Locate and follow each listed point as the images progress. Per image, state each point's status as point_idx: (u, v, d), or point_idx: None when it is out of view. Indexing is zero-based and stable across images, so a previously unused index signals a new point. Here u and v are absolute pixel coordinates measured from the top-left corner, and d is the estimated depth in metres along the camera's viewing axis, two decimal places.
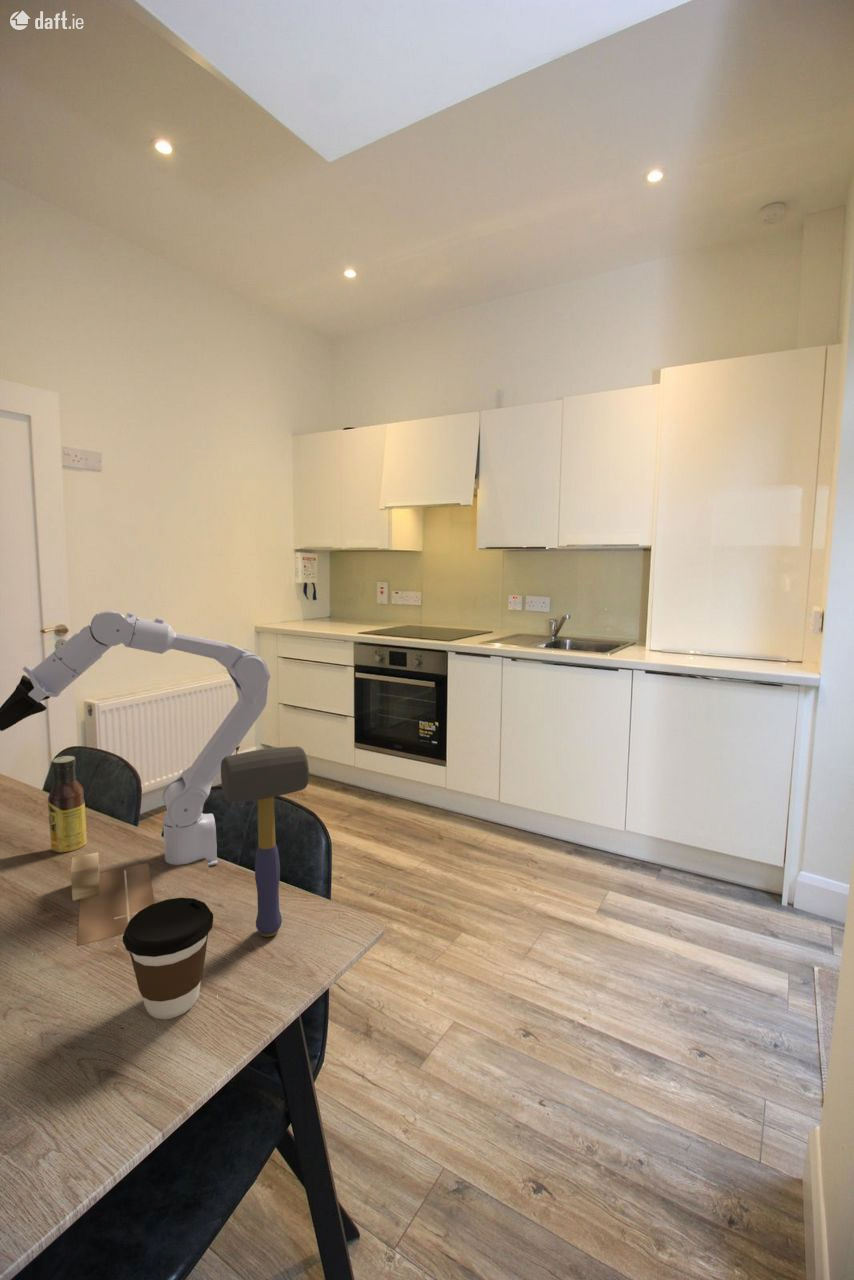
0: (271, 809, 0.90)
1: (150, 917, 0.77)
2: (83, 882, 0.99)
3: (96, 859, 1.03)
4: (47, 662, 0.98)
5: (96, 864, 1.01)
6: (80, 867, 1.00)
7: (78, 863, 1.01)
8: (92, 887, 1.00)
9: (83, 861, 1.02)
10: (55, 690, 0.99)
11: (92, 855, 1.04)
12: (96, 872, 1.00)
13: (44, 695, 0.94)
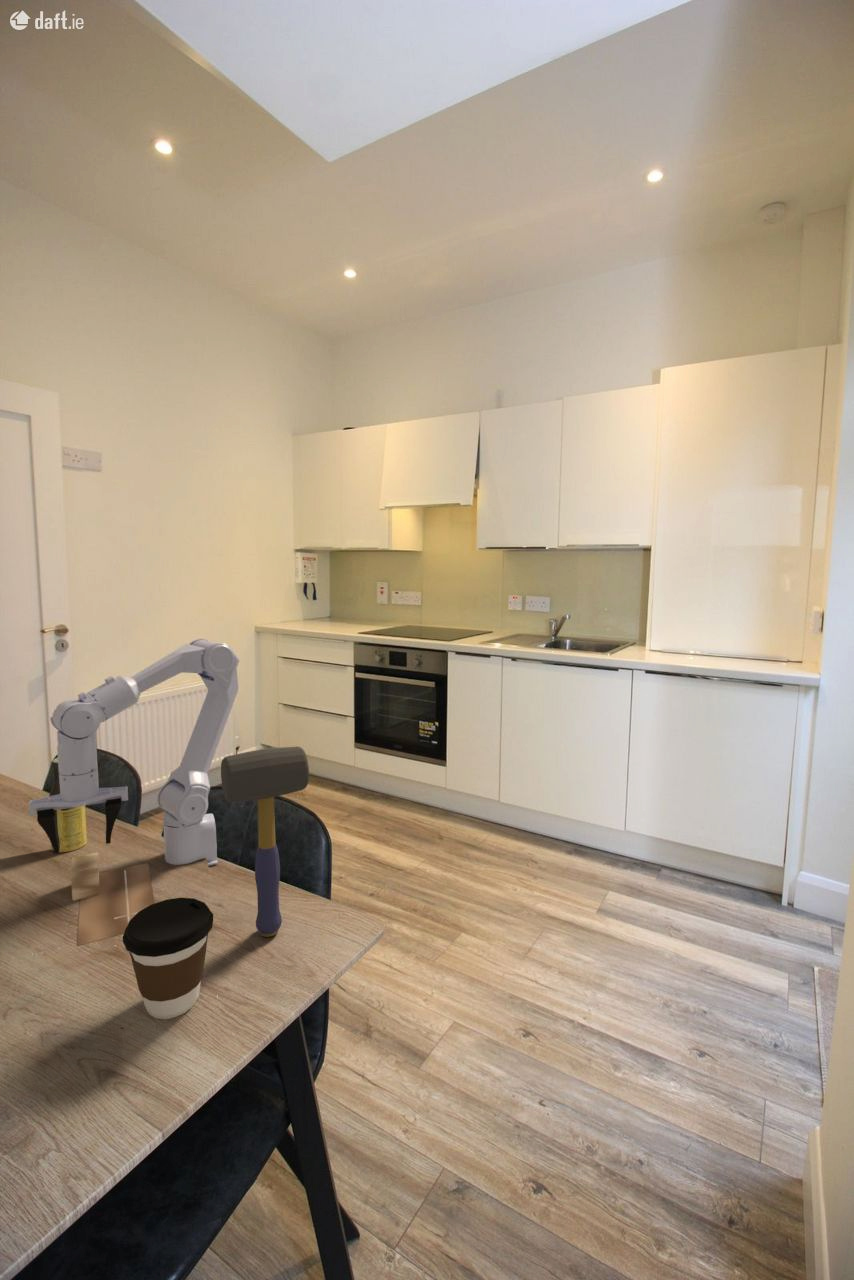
0: (271, 809, 0.90)
1: (150, 917, 0.77)
2: (83, 882, 0.99)
3: (96, 859, 1.03)
4: (90, 782, 0.98)
5: (96, 864, 1.01)
6: (80, 867, 1.00)
7: (78, 863, 1.01)
8: (92, 887, 1.00)
9: (83, 861, 1.02)
10: None
11: (92, 855, 1.04)
12: (96, 872, 1.00)
13: None
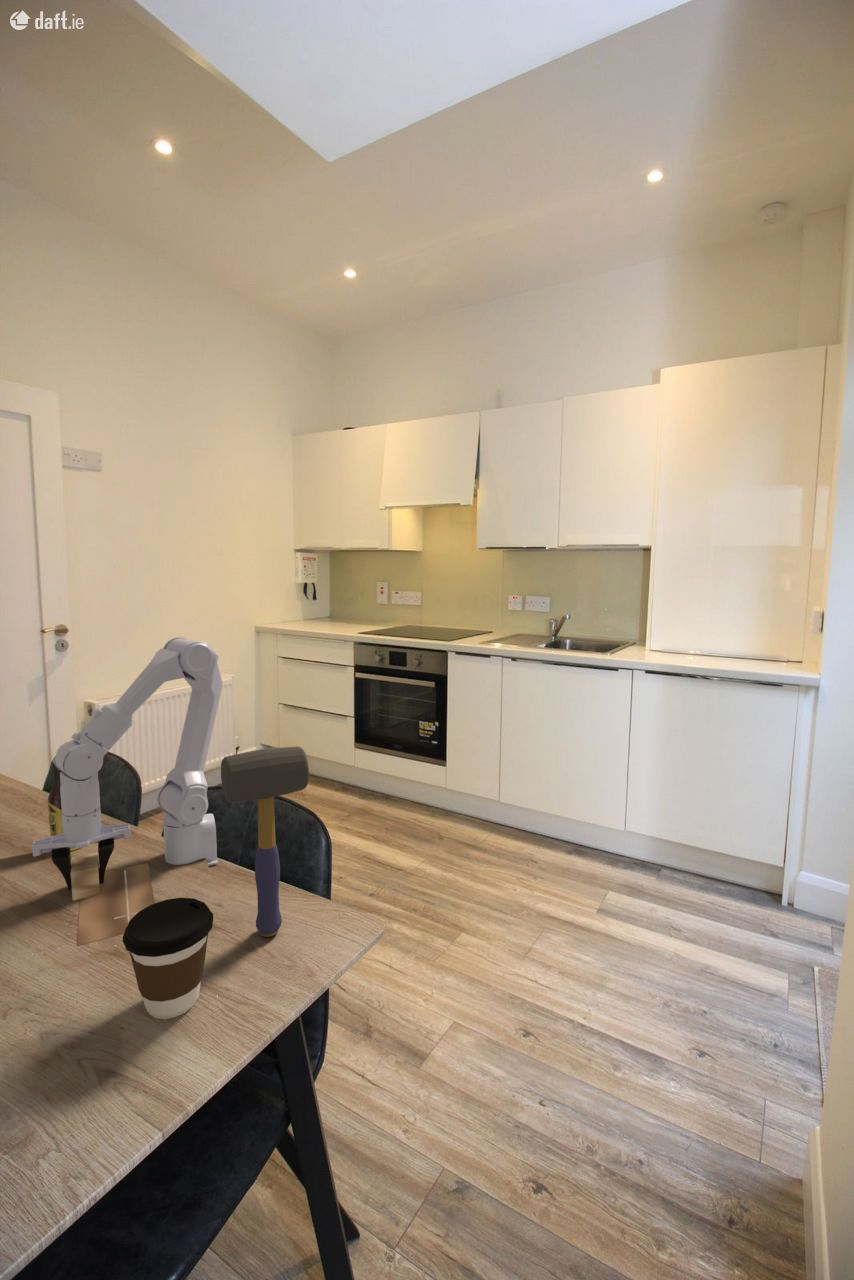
0: (271, 809, 0.90)
1: (150, 917, 0.77)
2: (83, 882, 0.99)
3: (96, 859, 1.03)
4: (93, 822, 0.99)
5: (96, 864, 1.01)
6: (80, 867, 1.00)
7: (78, 863, 1.01)
8: (92, 887, 1.00)
9: (83, 861, 1.02)
10: None
11: (92, 855, 1.04)
12: (96, 872, 1.00)
13: (129, 826, 1.05)
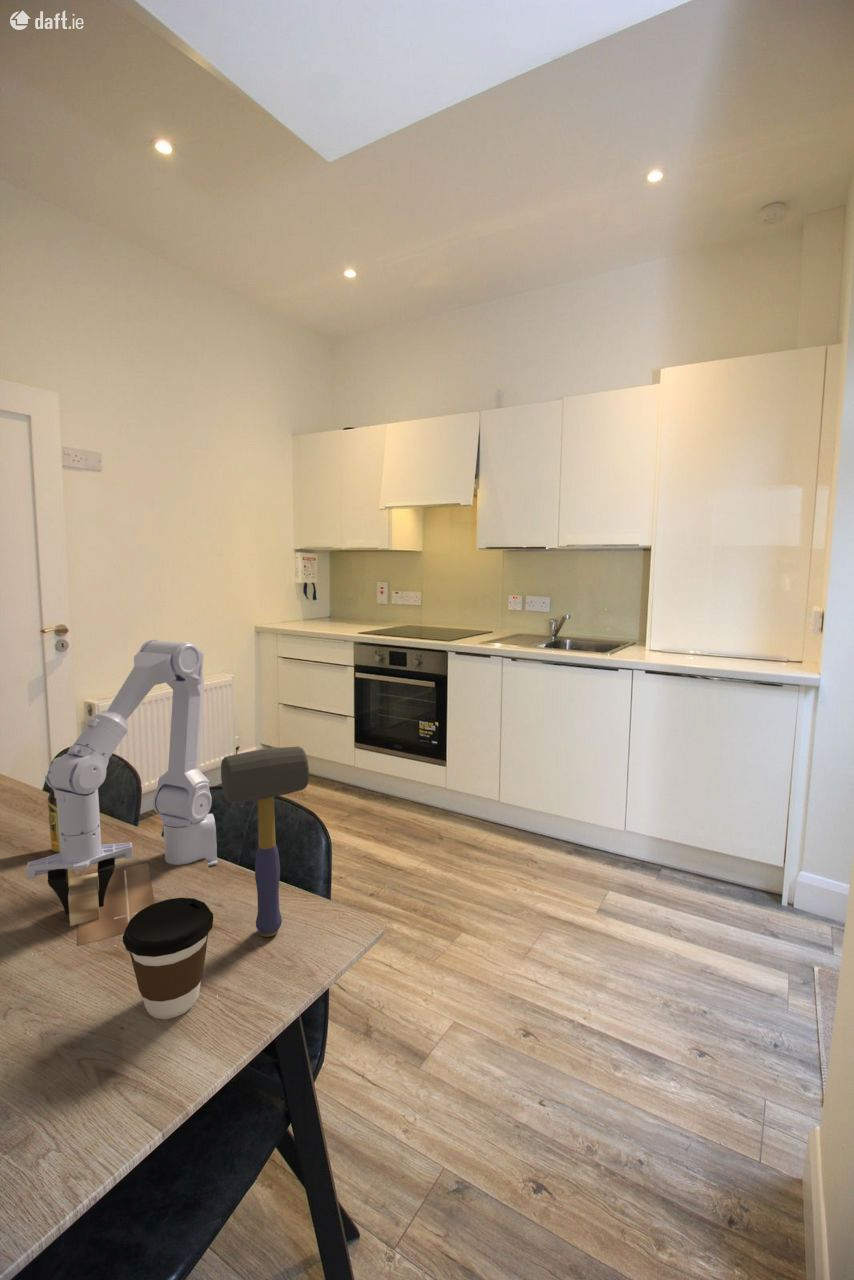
0: (271, 809, 0.90)
1: (150, 917, 0.77)
2: (81, 906, 0.92)
3: (95, 880, 0.96)
4: (92, 841, 0.92)
5: (95, 886, 0.94)
6: (78, 889, 0.93)
7: (76, 885, 0.94)
8: (91, 911, 0.93)
9: (82, 883, 0.95)
10: None
11: (91, 876, 0.97)
12: (95, 895, 0.93)
13: None
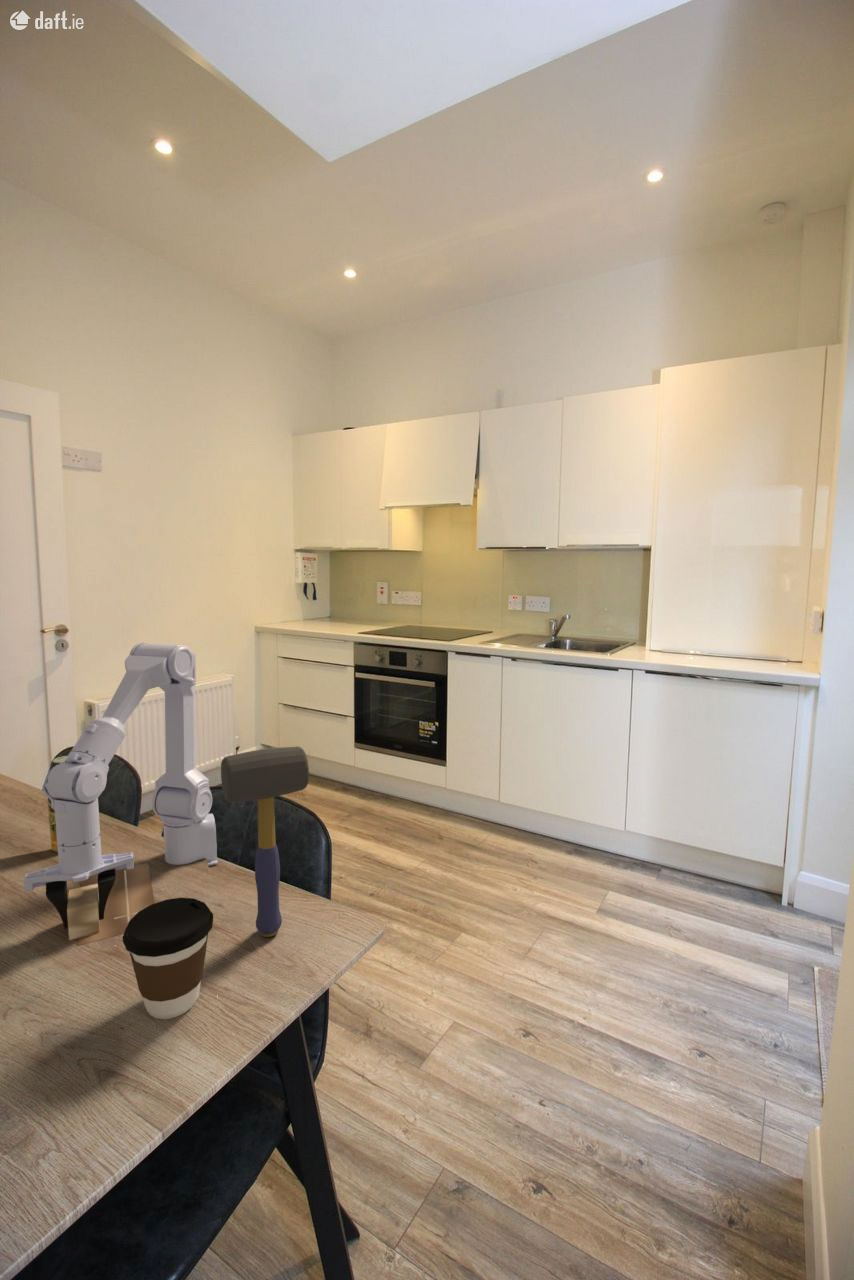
0: (271, 809, 0.90)
1: (150, 917, 0.77)
2: (80, 920, 0.89)
3: (95, 891, 0.92)
4: (91, 852, 0.89)
5: (95, 898, 0.90)
6: (77, 902, 0.89)
7: (76, 897, 0.91)
8: (91, 924, 0.89)
9: (81, 895, 0.91)
10: None
11: (91, 887, 0.93)
12: (95, 908, 0.89)
13: (132, 855, 0.95)
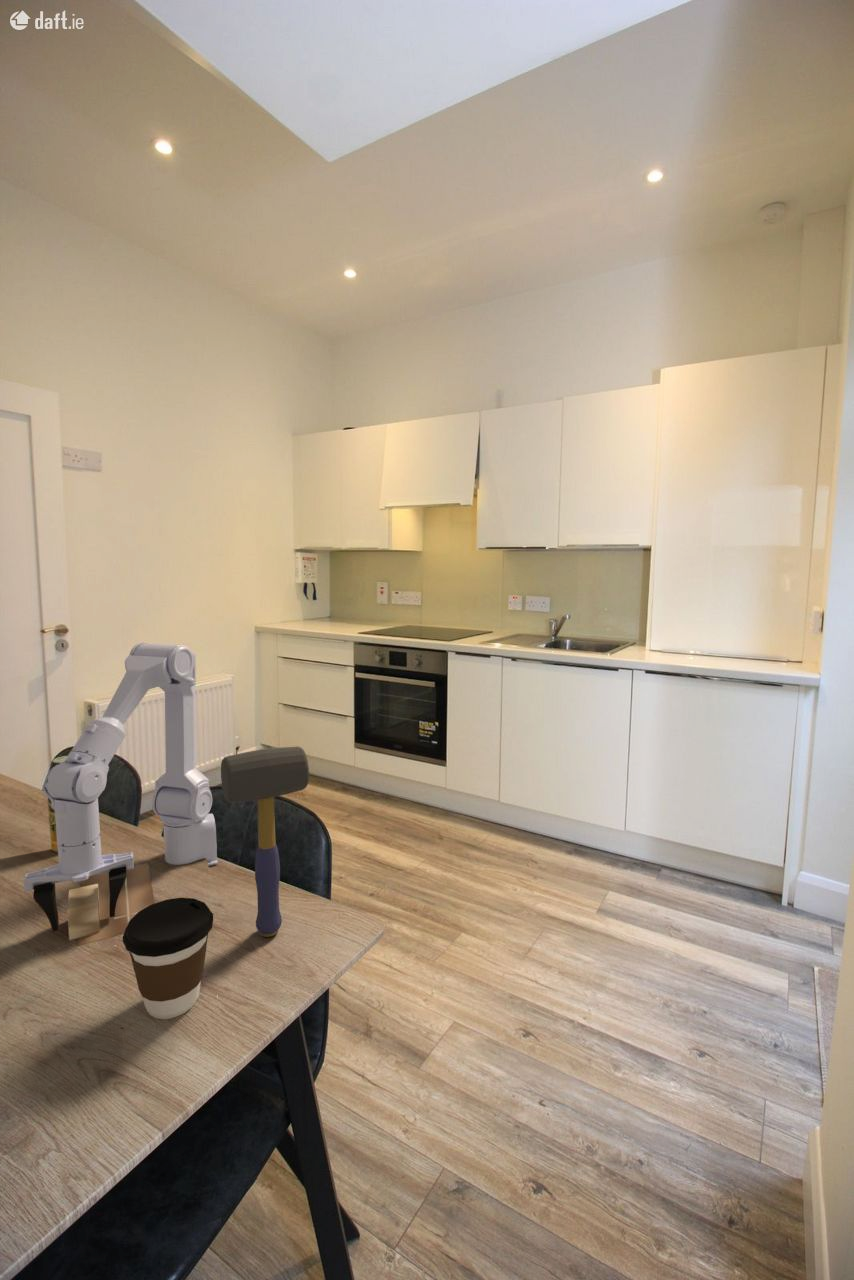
0: (271, 809, 0.90)
1: (150, 917, 0.77)
2: (81, 920, 0.89)
3: (95, 891, 0.92)
4: (91, 852, 0.89)
5: (96, 898, 0.90)
6: (77, 902, 0.89)
7: (76, 897, 0.91)
8: (91, 924, 0.89)
9: (81, 895, 0.91)
10: None
11: (91, 887, 0.93)
12: (96, 908, 0.89)
13: (132, 855, 0.95)
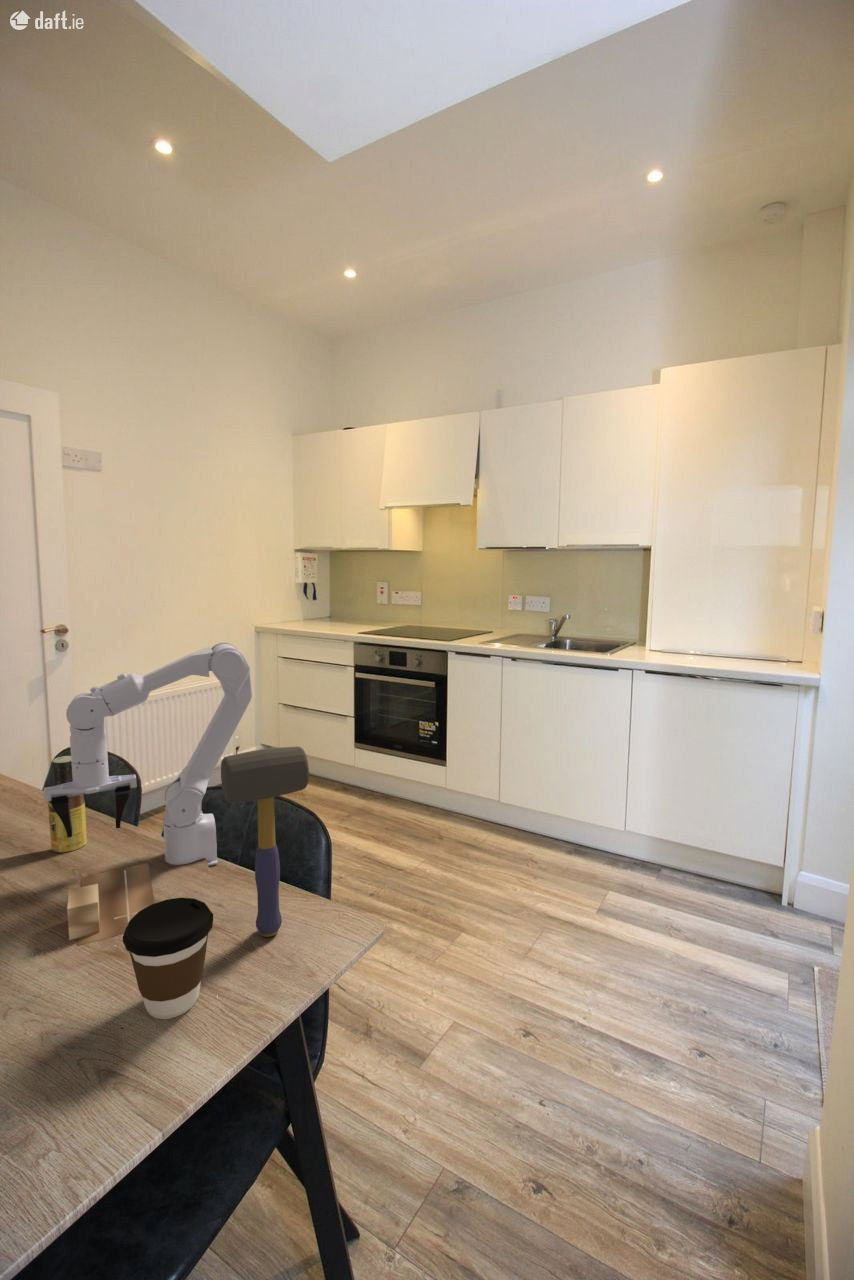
0: (271, 809, 0.90)
1: (150, 917, 0.77)
2: (81, 920, 0.89)
3: (95, 891, 0.92)
4: (101, 770, 1.05)
5: (96, 898, 0.90)
6: (77, 902, 0.89)
7: (76, 897, 0.91)
8: (91, 924, 0.89)
9: (81, 895, 0.91)
10: None
11: (91, 887, 0.93)
12: (96, 908, 0.89)
13: None
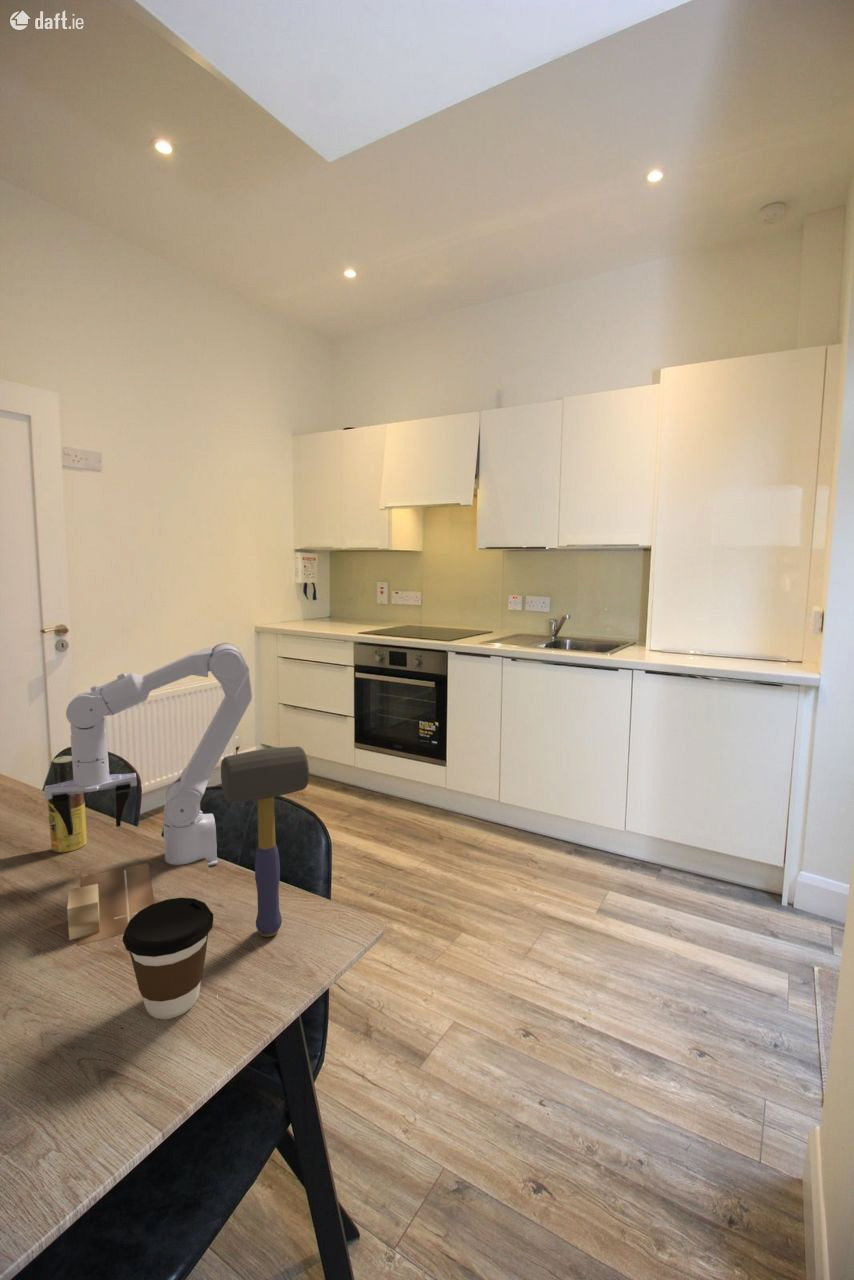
0: (271, 809, 0.90)
1: (150, 917, 0.77)
2: (81, 920, 0.89)
3: (95, 891, 0.92)
4: (101, 769, 1.05)
5: (96, 898, 0.90)
6: (77, 902, 0.89)
7: (76, 897, 0.91)
8: (91, 924, 0.89)
9: (81, 895, 0.91)
10: None
11: (91, 887, 0.93)
12: (96, 908, 0.89)
13: (135, 775, 1.11)
